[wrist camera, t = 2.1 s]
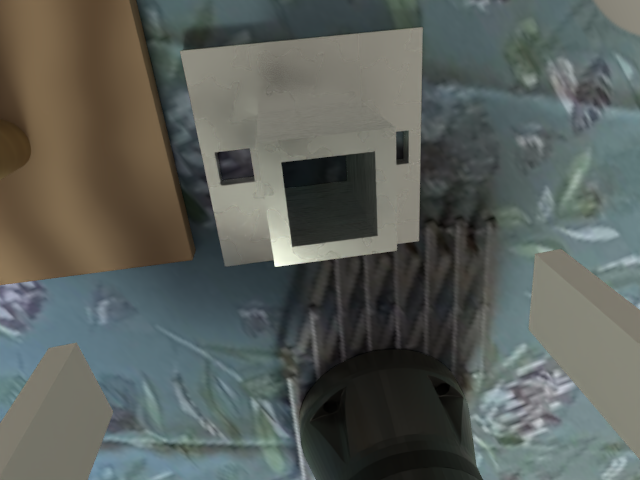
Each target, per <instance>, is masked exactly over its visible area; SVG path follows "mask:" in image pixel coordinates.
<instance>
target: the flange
mask: <svg viewBox="0 0 640 480" xmlns="http://www.w3.org/2000/svg"><path fill="white" fill-rule="evenodd" d="M422 37H423V27H414V28H404V29H393V30H383V31H373V32H363V33H352V34H342V35H332V36H322V37H311V38H301V39H291V40H281V41H270V42H260V43H250V44H240V45H229V46H219V47H209V48H199V49H188V50H182V51H180V53H181V58H182V63H183V68H184V72H185V77H186V82H187V87H188V92H189V96H190V101H191V106H192V111H193V116H194V120H195V125H196V130H197V135H198V139H199V144H200V149H201V154H202V159H203V163H204V168H205V173H206V178H207V183H208V187H209V192H210V197H211V202H212V207H213V211H214V216H215V221H216V226H217V230H218V235H219V240H220V245H221V250H222V254H223V259H224V264H225V267H226V266H234V265H241V264H249V263H256V262H264V261H272V260H274V265H275V267H278V266H286V265H293V264H301V263H308V262H316V261H323V260H331V259H338V258H346V257H353V256H361V255H368V254H376V253H383V252H391V251H397V244H400V243H408V242H416V241H419V212H420V154H421V95H422ZM398 131H403V159H396V132H398ZM248 148H250V153H251V159H252V165H253V172H254V176H252V177H244V178H235V179H227V180H222V175H221V170H220V165H219V159H218V154H217V152H222V151H231V150H240V149H248ZM340 155H346V171H347V181H341V182H332V183H324V184H316V185H308V186H299V187H291V188H284V180H283V172H282V165H281V162H288V161H297V160H306V159H314V158H323V157H331V156H340Z"/></svg>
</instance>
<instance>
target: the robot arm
mask: <svg viewBox="0 0 640 480" xmlns="http://www.w3.org/2000/svg"><path fill="white" fill-rule="evenodd" d="M529 330H530V331H531V333H532V334H533V335H534V336H535V337H536V338H537V340H538V341H539V342H540V343H541V344H542V345H543V347H544V348H545V349H546V350H547V351H548V353H549V354H550V355H551V356H552V357H553V358H554V360H555V361H556V362H557V363H558V364H559V365H560V367H561V368H562V369H563V370H564V371H565V372H566V374H567V375H568V376H569V377H570V378H571V379H572V381H573V382H574V383H575V384H576V385H577V386H578V388H579V389H580V390H581V391H582V392H583V394H584V395H585V396H586V397H587V398H588V399H589V401H590V402H591V403H592V404H593V405H594V406H595V408H596V409H597V410H598V411H599V412H600V413H601V415H602V416H603V417H604V418H605V419H606V420H607V422H608V423H609V424H610V425H611V426H612V427H613V429H614V430H615V431H616V432H617V433H618V435H619V436H620V437H621V438H622V439H623V440H624V442H625V443H626V444H627V445H628V446H629V447H630V449H631V450H632V451H633V452H634V453H635V454H636V456H637V457H638V458H639V459H640V310H639V309H638V308H636V307H635V306H634V305H633V304H631V303H630V302H629V301H627V300H626V299H625V298H624V297H622V296H621V295H620V294H618V293H617V292H616V291H615V290H613V289H612V288H611V287H609V286H608V285H607V284H605V283H604V282H603V281H602V280H600V279H599V278H598V277H596V276H595V275H594V274H593V273H591V272H590V271H589V270H587V269H586V268H585V267H584V266H582V265H581V264H580V263H578V262H577V261H576V260H575V259H573V258H572V257H571V256H569V255H568V254H567V253H565V252H564V251H563V250H562V249H559V250H553V251H548V252H543V253H538V254H535V262H534V274H533V285H532V296H531V308H530V319H529ZM112 414H113V411H112V409H111V407H110V405H109V403H108V401H107V399H106V397H105V395H104V393H103V392H102V390H101V388H100V386H99V384H98V382H97V380H96V378H95V376H94V374H93V373H92V371H91V369H90V367H89V365H88V363H87V361H86V359H85V357H84V356H83V354H82V352H81V350H80V348H79V346H78V344H77V343H73V344H67V345H62V346H57V347H52V348H49V349H48V350H47V352H46V353H45V355H44V357H43V358H42V360H41V361H40V363H39V364H38V366H37V367H36V369H35V370H34V372H33V373H32V375H31V377H30V378H29V380H28V381H27V383H26V384H25V386H24V387H23V389H22V390H21V392H20V393H19V395H18V397H17V398H16V400H15V401H14V403H13V404H12V406H11V407H10V409H9V410H8V412H7V414H6V415H5V417H4V418H3V420H2V421H1V423H0V480H88V477H89V474H90V472H91V469H92V467H93V464H94V461H95V459H96V456H97V453H98V451H99V448H100V446H101V443H102V440H103V438H104V435H105V432H106V430H107V427H108V425H109V422H110V419H111V417H112ZM299 426H300V436H301V445H302V449H303V453H304V456H305V458H306V460H307V462H308V465H309V467H310V469H311V471H312V473H313V475H314V477H315V479H316V480H483V479H482V477H481V475H480V473H479V470H478V468H477V466H476V459H475V452H474V444H473V437H472V429H471V422H470V414H469V408H468V404H467V401H466V398H465V396H464V394H463V392H462V390H461V388H460V386H459V385H458V383H457V381H456V379H455V377H454V376H453V374H452V373H451V372H450V370H449V369H448V368H447V367H446V366H445V365H443V364H442V363H441V362H439V361H438V360H436V359H434V358H433V357H430V356H428V355H425V354H423V353H419V352H415V351H410V350H400V349H389V350H379V351H373V352H369V353H365V354H362V355H358V356H356V357H353V358H351V359H348V360H346V361H344V362H342V363H340V364H339V365H337V366H335V367H334V368H332V369H331V370H329V371H328V372H327V373H325V374H324V375H323V376H322V377H321V378H320V379H319V380H318V381H317V382H316V383H315V384H314V385H313V386H312V388H311V389H310V390H309V392H308V394H307V395H306V397H305V399H304V401H303V404H302V407H301V410H300V416H299Z"/></svg>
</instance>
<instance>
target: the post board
mask: <svg viewBox="0 0 640 480" xmlns="http://www.w3.org/2000/svg"><path fill="white" fill-rule="evenodd" d="M195 251H196V249H195V245H194V241H193V237H192V233H191V228H190V224H189V220H188V216H187V212H186V207H185V203H184V199H183V195H182V191H181V187H180V182H179V178H178V174H177V170H176V166H175V161H174V157H173V153H172V149H171V145H170V140H169V136H168V132H167V128H166V124H165V119H164V115H163V111H162V107H161V103H160V99H159V94H158V90H157V86H156V82H155V78H154V73H153V69H152V65H151V61H150V57H149V52H148V48H147V44H146V40H145V36H144V31H143V27H142V23H141V19H140V15H139V10H138V6H137V2H136V0H0V285H5V284H12V283H20V282H28V281H35V280H43V279H51V278H58V277H66V276H74V275H81V274H89V273H97V272H105V271H112V270H120V269H128V268H135V267H143V266H151V265H158V264H166V263H174V262H181V261H189V260H193V257H194V254H195Z"/></svg>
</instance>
